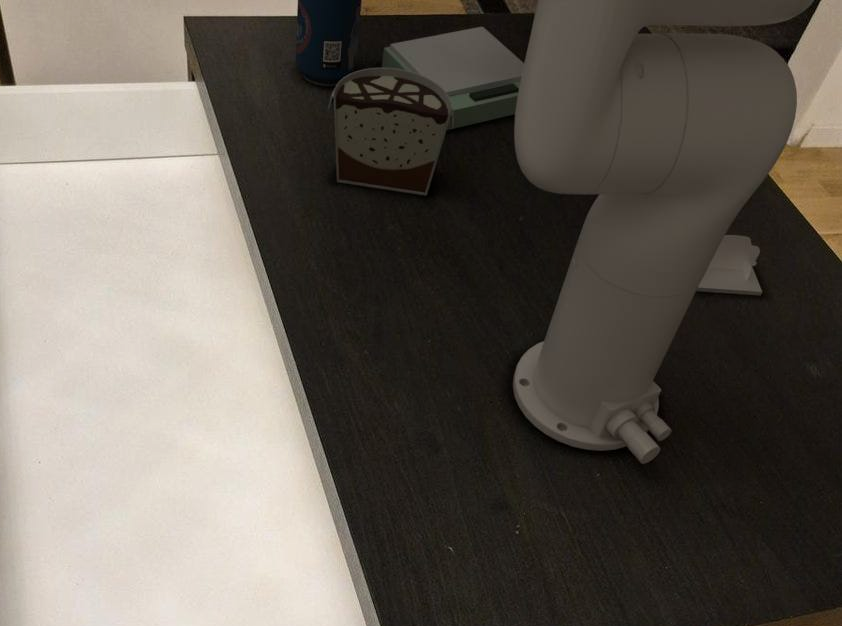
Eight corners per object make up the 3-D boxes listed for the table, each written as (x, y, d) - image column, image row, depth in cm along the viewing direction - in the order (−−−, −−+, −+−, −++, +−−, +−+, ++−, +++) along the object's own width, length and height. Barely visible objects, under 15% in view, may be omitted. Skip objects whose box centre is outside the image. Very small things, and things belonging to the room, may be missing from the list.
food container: (444, 163, 102) (460, 75, 94) (441, 197, 98) (457, 109, 90) (330, 145, 101) (336, 56, 93) (322, 179, 98) (328, 89, 90)
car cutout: (743, 251, 98) (761, 215, 94) (760, 295, 94) (780, 259, 90) (601, 241, 96) (615, 204, 93) (613, 285, 92) (627, 248, 89)
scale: (544, 107, 111) (550, 83, 108) (443, 131, 105) (448, 106, 103) (479, 47, 118) (483, 23, 115) (381, 67, 112) (384, 42, 110)
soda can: (291, 56, 111) (295, -51, 102) (349, 57, 113) (358, -49, 103) (299, 89, 107) (303, -19, 98) (359, 89, 109) (369, -18, 99)
